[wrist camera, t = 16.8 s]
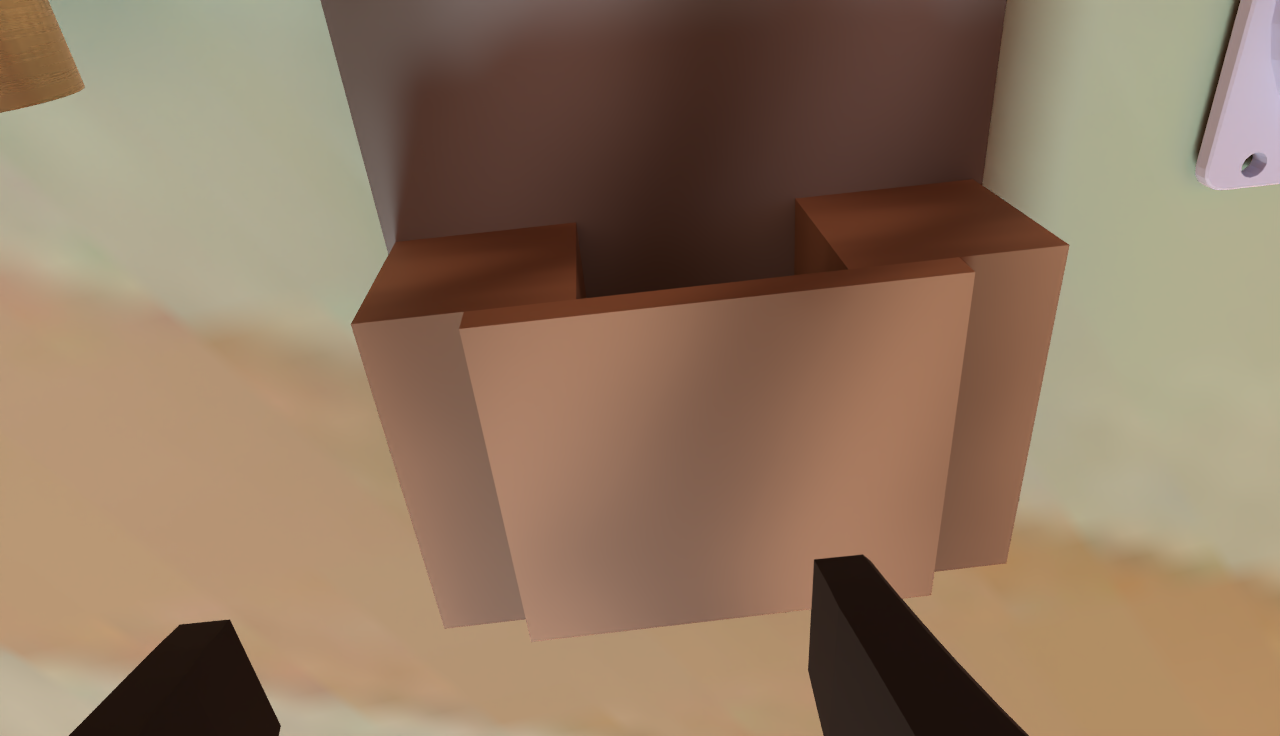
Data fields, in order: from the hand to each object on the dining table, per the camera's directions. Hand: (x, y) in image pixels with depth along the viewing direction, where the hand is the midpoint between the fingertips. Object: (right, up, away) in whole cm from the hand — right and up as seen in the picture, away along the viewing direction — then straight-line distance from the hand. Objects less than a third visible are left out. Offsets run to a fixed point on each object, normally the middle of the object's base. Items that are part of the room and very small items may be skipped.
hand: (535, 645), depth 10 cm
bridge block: (+2, +6, +7) cm, 10 cm away
